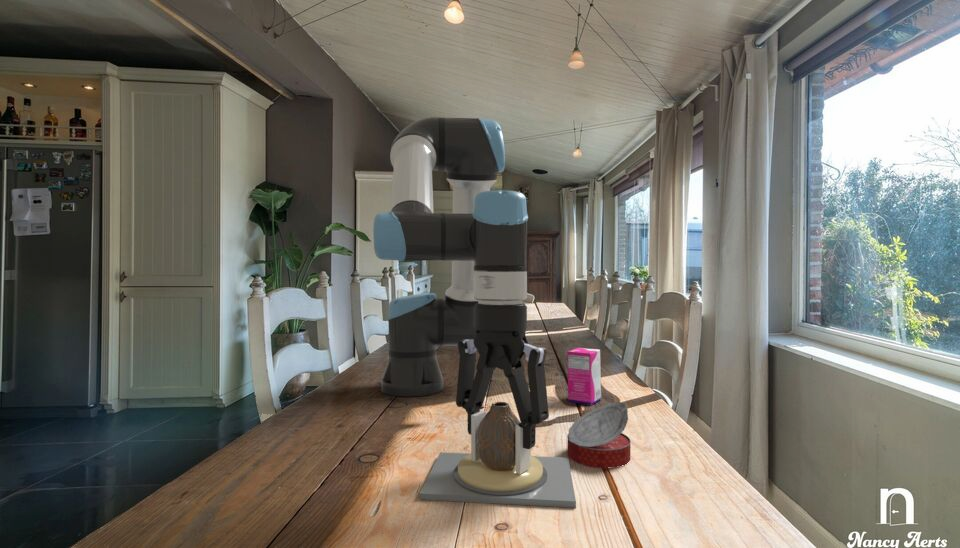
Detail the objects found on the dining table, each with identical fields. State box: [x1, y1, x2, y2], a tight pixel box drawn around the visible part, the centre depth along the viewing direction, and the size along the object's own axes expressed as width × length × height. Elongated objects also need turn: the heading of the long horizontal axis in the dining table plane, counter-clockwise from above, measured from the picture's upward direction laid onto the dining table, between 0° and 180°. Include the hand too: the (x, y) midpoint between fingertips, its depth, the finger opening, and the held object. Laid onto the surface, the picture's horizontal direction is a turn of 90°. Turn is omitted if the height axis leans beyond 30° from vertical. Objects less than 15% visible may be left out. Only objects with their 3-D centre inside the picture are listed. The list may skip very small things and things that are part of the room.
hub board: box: [419, 451, 577, 509], centre depth 69 cm, size 14×20×2 cm
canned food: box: [566, 401, 632, 469], centre depth 78 cm, size 11×10×10 cm
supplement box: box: [566, 347, 602, 406], centre depth 110 cm, size 6×6×12 cm
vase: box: [476, 401, 521, 471], centre depth 69 cm, size 7×7×9 cm
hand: (500, 463), depth 69 cm, fingers closed on vase, 7 cm apart
